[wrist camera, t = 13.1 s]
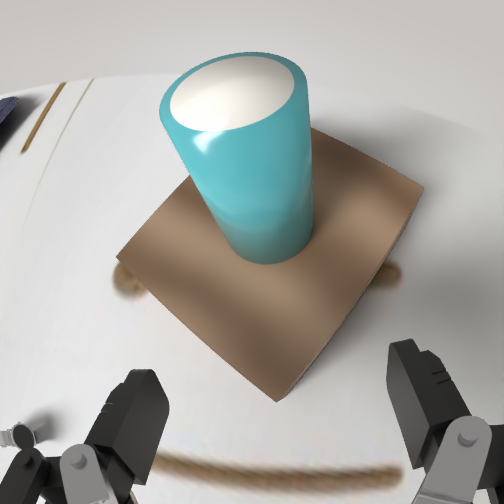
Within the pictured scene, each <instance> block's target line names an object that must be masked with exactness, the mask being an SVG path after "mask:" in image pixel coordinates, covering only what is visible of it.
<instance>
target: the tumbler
mask: <svg viewBox="0 0 504 504" xmlns="http://www.w3.org/2000/svg"><path fill="white" fill-rule="evenodd" d="M159 114H160V119H161V122H162V124H163V126H164V128H165V129H166V131H167V133H168V135H169V137H170V139H171V141H172V142H173V144H174V146H175V148H176V150H177V152H178V154H179V155H180V157H181V159H182V161H183V163H184V165H185V166H186V168H187V170H188V172H189V174H190V176H191V177H192V179H193V181H194V183H195V185H196V187H197V188H198V190H199V192H200V194H201V196H202V197H203V199H204V201H205V203H206V205H207V207H208V208H209V210H210V212H211V214H212V216H213V217H214V219H215V221H216V223H217V225H218V226H219V228H220V230H221V232H222V234H223V235H224V237H225V239H226V241H227V243H228V244H229V246H230V248H231V249H232V250H233V251H234V252H235V253H236V254H237V255H238V256H240V257H241V258H243V259H244V260H247V261H249V262H252V263H256V264H265V265H267V264H276V263H280V262H283V261H286V260H288V259H290V258H292V257H293V256H295V255H296V254H298V253H299V252H300V251H301V250H302V249H303V248H304V247H305V246H306V244H307V243H308V241H309V239H310V237H311V235H312V232H313V227H314V204H313V172H312V150H311V131H310V115H309V101H308V88H307V80H306V77H305V75H304V72H303V71H302V70H301V68H300V67H299V66H297V65H296V64H295V63H294V62H292V61H290V60H288V59H286V58H284V57H281V56H278V55H274V54H270V53H263V52H243V53H235V54H229V55H225V56H221V57H218V58H214V59H212V60H209V61H207V62H204V63H202V64H200V65H198V66H196V67H194V68H192V69H191V70H189V71H188V72H186V73H185V74H183V75H182V76H181V77H179V78H178V79H177V80H176V81H175V82H174V83H173V84H172V85H171V86H170V87H169V89H168V90H167V91H166V93H165V94H164V96H163V98H162V101H161V104H160V109H159Z"/></svg>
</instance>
